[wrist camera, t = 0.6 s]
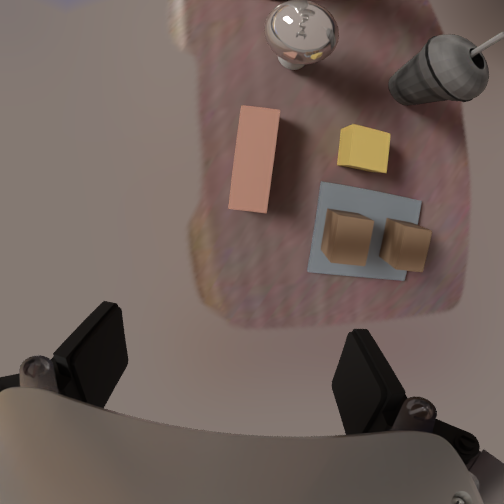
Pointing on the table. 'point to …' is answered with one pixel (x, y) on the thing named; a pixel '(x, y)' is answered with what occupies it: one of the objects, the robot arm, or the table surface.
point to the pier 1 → (346, 237)
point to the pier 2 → (405, 245)
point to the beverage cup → (443, 71)
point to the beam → (254, 159)
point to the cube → (364, 149)
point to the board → (378, 210)
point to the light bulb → (301, 33)
